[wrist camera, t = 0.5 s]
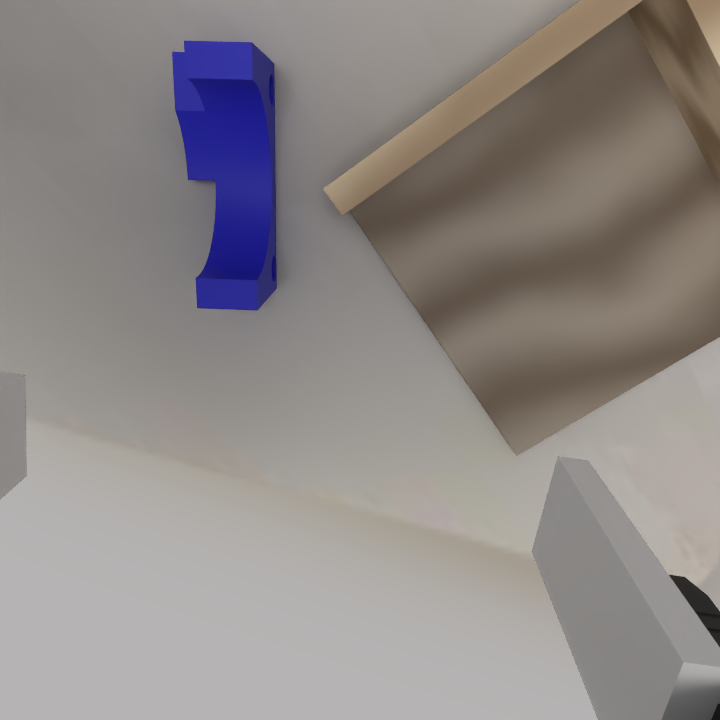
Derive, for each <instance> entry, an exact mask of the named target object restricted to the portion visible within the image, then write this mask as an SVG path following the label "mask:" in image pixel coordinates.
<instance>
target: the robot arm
mask: <svg viewBox="0 0 720 720" xmlns="http://www.w3.org/2000/svg"><path fill="white" fill-rule="evenodd" d="M26 476H27V475H26V395H25V375H21V374H14V373H7V372H1V371H0V499H1V498H2V497H3V496H5V495H6V494H7V493H8V492H9V491H10V490H11V489H12V488H14V487H15V486H16V485H17V484H18V483H19V482H20V481H21V480H23V479H24V478H25V477H26ZM532 553H533V556H534V558H535V561H536V563H537V566H538V568H539V571H540V573H541V576H542V578H543V581H544V584H545V586H546V589H547V591H548V594H549V596H550V599H551V601H552V604H553V606H554V609H555V612H556V614H557V617H558V619H559V622H560V624H561V627H562V629H563V632H564V634H565V637H566V639H567V642H568V644H569V647H570V649H571V652H572V655H573V657H574V659H575V662H576V665H577V667H578V670H579V672H580V675H581V677H582V680H583V683H584V685H585V688H586V690H587V693H588V695H589V698H590V700H591V703H592V705H593V708H594V711H595V713H596V715H597V718H598V720H720V611H719V610H718V608H717V607H716V606H715V605H714V603H713V602H712V601H711V599H710V598H709V597H708V595H706V594H705V593H704V592H702V591H701V590H700V589H699V588H698V587H696V586H695V585H694V584H693V583H691V582H690V581H689V580H688V579H686V578H685V577H681V576H674V575H668V573H667V572H666V570H665V569H664V567H663V566H662V565H661V563H660V562H659V560H658V559H657V558H656V556H655V555H654V553H653V552H652V550H651V549H650V548H649V546H648V545H647V543H646V542H645V540H644V539H643V538H642V536H641V535H640V533H639V532H638V530H637V529H636V528H635V526H634V525H633V523H632V522H631V521H630V519H629V518H628V516H627V515H626V513H625V512H624V511H623V509H622V508H621V506H620V505H619V503H618V502H617V501H616V499H615V498H614V496H613V495H612V494H611V492H610V491H609V489H608V488H607V486H606V485H605V484H604V482H603V481H602V479H601V478H600V476H599V475H598V474H597V472H596V471H595V469H594V468H593V466H592V465H591V464H590V462H589V461H586V460H580V459H573V458H567V457H560V456H558V458H557V462H556V465H555V469H554V472H553V476H552V480H551V483H550V487H549V491H548V494H547V498H546V501H545V505H544V509H543V512H542V516H541V519H540V523H539V527H538V530H537V534H536V538H535V541H534V545H533V548H532Z"/></svg>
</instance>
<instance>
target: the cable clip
mask: <svg viewBox="0 0 720 720" xmlns="http://www.w3.org/2000/svg"><path fill="white" fill-rule="evenodd" d="M184 50H185V52H172V56H173V75H174V93H175V110H176V113H177V117H178V120H179V124H180V127H181V132H182V136H183V141H184V147H185V154H186V162H187V172H188V180H214V181H216V211H215V224H214V232H213V239H212V244H211V249H210V253H209V256H208V259H207V262H206V265H205V267H204V269H203V271H202V272H201V274H200V275H199V276H198V277H197V278H196V293H197V308H208V309H235V310H258V309H259V308H260V307H261V306H262V304H263V303H264V302H265V301H266V300H267V299H268V298H269V296H270V295H271V294H272V293H273V292H274V291H275V290H276V288H277V281H276V186H275V90H274V63H273V62H272V61H271V60H270V59H269V58H268V57H267V56H266V55H265V54H264V53H262V52H261V51H260V50H259V49H258V48H257V47H256V46H255V45H254V44H253V43H250V42H210V41H184Z"/></svg>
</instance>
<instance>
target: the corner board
mask: <svg viewBox="0 0 720 720" xmlns="http://www.w3.org/2000/svg"><path fill="white" fill-rule="evenodd" d="M323 189H324V191H325V192H326V194H327V195H328V196H329V198H330V199H331V201H332V202H333V204H334V205H335V207H336V208H337V210H338V211H339V212H340V214H341V215H342V216H343V215H344V214H345V213H347V212H348V211H350V212H351V214H352V215H353V217H354V218H355V220H356V221H357V223H358V224H359V226H360V227H361V229H362V230H363V232H364V233H365V234H366V236H367V237H368V239H369V240H370V242H371V243H372V245H373V246H374V248H375V249H376V251H377V252H378V254H379V255H380V256H381V258H382V259H383V261H384V262H385V264H386V265H387V267H388V268H389V270H390V271H391V273H392V274H393V275H394V277H395V278H396V280H397V281H398V283H399V284H400V286H401V287H402V289H403V290H404V292H405V293H406V295H407V296H408V297H409V299H410V300H411V302H412V303H413V305H414V306H415V308H416V309H417V311H418V312H419V314H420V315H421V317H422V318H423V319H424V321H425V322H426V324H427V325H428V327H429V328H430V330H431V331H432V333H433V334H434V336H435V337H436V339H437V340H438V341H439V343H440V344H441V346H442V347H443V349H444V350H445V352H446V353H447V355H448V356H449V358H450V359H451V360H452V362H453V363H454V365H455V366H456V368H457V369H458V371H459V372H460V374H461V375H462V377H463V378H464V380H465V381H466V382H467V384H468V385H469V387H470V388H471V390H472V391H473V393H474V394H475V396H476V397H477V399H478V400H479V402H480V403H481V404H482V406H483V407H484V409H485V410H486V412H487V413H488V415H489V416H490V418H491V419H492V421H493V422H494V423H495V425H496V426H497V428H498V429H499V431H500V432H501V434H502V435H503V437H504V438H505V440H506V441H507V443H508V444H509V445H510V447H511V448H512V450H513V451H514V453H515V454H516V456H517V455H519V454H520V453H522V452H524V451H525V450H527V449H529V448H531V447H532V446H534V445H536V444H537V443H539V442H541V441H542V440H544V439H546V438H548V437H549V436H551V435H553V434H554V433H556V432H558V431H560V430H561V429H563V428H565V427H566V426H568V425H570V424H572V423H573V422H575V421H577V420H578V419H580V418H582V417H583V416H585V415H587V414H589V413H590V412H592V411H594V410H595V409H597V408H599V407H601V406H602V405H604V404H606V403H607V402H609V401H611V400H613V399H614V398H616V397H618V396H619V395H621V394H623V393H624V392H626V391H628V390H630V389H631V388H633V387H635V386H636V385H638V384H640V383H642V382H643V381H645V380H647V379H648V378H650V377H652V376H654V375H655V374H657V373H659V372H660V371H662V370H664V369H665V368H667V367H669V366H671V365H672V364H674V363H676V362H677V361H679V360H681V359H683V358H684V357H686V356H688V355H689V354H691V353H693V352H695V351H696V350H698V349H700V348H701V347H703V346H705V345H706V344H708V343H710V342H712V341H713V340H715V339H717V338H718V337H720V0H580V1H579V2H578V3H576V4H575V5H573V6H572V7H571V8H569V9H568V10H567V11H565V12H564V13H563V14H561V15H560V16H558V17H557V18H556V19H554V20H553V21H552V22H550V23H549V24H548V25H546V26H545V27H543V28H542V29H541V30H539V31H538V32H537V33H535V34H534V35H532V36H531V37H530V38H528V39H527V40H526V41H524V42H523V43H522V44H520V45H519V46H517V47H516V48H515V49H513V50H512V51H511V52H509V53H508V54H507V55H505V56H504V57H502V58H501V59H500V60H498V61H497V62H496V63H494V64H493V65H491V66H490V67H489V68H487V69H486V70H485V71H483V72H482V73H481V74H479V75H478V76H476V77H475V78H474V79H472V80H471V81H470V82H468V83H467V84H466V85H464V86H463V87H461V88H460V89H459V90H457V91H456V92H455V93H453V94H452V95H451V96H449V97H448V98H446V99H445V100H444V101H442V102H441V103H440V104H438V105H437V106H435V107H434V108H433V109H431V110H430V111H429V112H427V113H426V114H425V115H423V116H422V117H420V118H419V119H418V120H416V121H415V122H414V123H412V124H411V125H410V126H408V127H407V128H405V129H404V130H403V131H401V132H400V133H399V134H397V135H396V136H395V137H393V138H392V139H390V140H389V141H388V142H386V143H385V144H384V145H382V146H381V147H379V148H378V149H377V150H375V151H374V152H373V153H371V154H370V155H369V156H367V157H366V158H364V159H363V160H362V161H360V162H359V163H358V164H356V165H355V166H354V167H352V168H351V169H349V170H348V171H347V172H345V173H344V174H343V175H341V176H340V177H339V178H337V179H336V180H334V181H333V182H332V183H330V184H329V185H328V186H326V187H325V188H323Z"/></svg>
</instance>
